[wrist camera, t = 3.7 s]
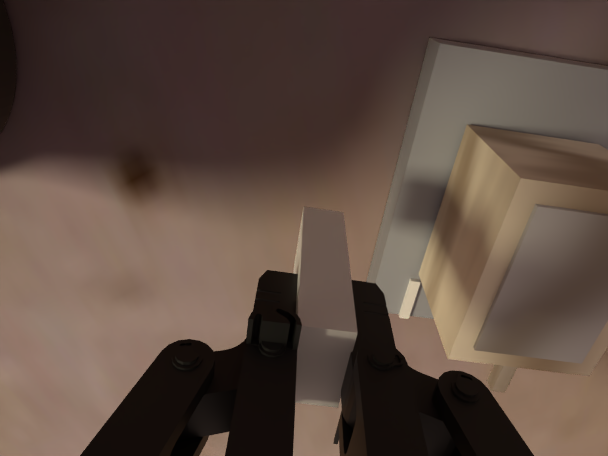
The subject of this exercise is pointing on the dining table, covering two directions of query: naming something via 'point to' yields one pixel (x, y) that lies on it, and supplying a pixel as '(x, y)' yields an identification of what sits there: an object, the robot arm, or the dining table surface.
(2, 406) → the dining table surface
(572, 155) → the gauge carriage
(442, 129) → the track
